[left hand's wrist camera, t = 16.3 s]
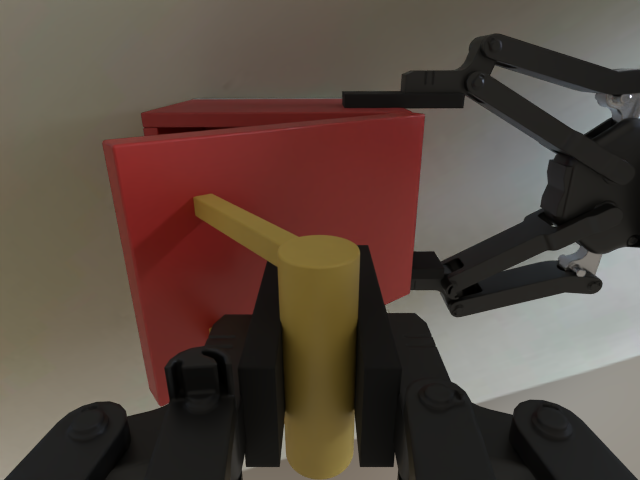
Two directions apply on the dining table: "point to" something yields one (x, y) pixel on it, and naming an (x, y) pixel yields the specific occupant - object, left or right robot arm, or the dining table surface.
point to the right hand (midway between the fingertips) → (341, 188)
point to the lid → (271, 249)
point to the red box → (247, 113)
